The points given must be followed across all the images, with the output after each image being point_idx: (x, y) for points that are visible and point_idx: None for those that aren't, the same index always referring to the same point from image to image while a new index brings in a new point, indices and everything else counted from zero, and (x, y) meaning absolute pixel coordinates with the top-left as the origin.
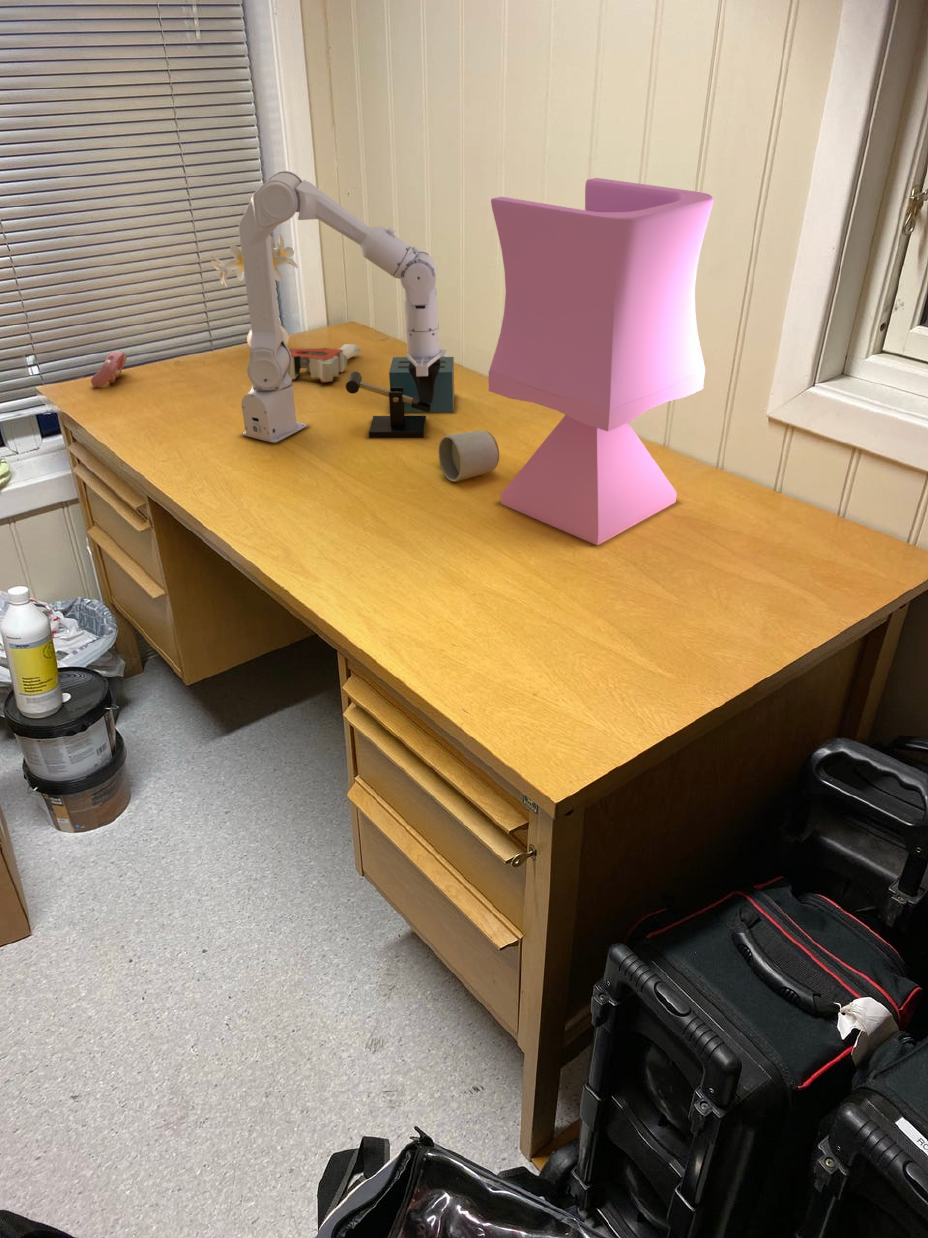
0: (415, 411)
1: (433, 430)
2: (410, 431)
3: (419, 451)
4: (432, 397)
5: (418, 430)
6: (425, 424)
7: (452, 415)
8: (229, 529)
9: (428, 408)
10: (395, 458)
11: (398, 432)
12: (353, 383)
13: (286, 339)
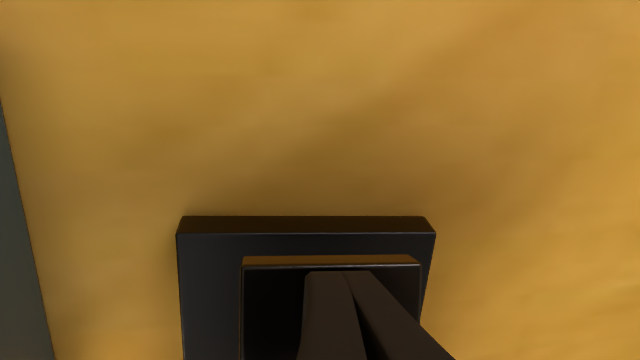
0: (34, 282)
1: (324, 169)
2: (422, 295)
3: (580, 225)
4: (393, 297)
5: (417, 259)
6: (249, 217)
7: (54, 46)
8: None
9: (420, 277)
10: (616, 312)
11: None
12: None
13: None
